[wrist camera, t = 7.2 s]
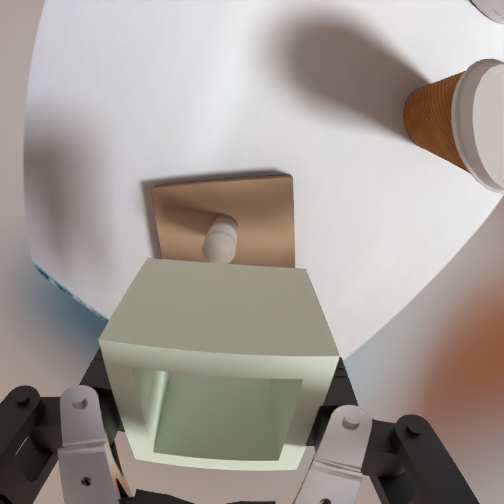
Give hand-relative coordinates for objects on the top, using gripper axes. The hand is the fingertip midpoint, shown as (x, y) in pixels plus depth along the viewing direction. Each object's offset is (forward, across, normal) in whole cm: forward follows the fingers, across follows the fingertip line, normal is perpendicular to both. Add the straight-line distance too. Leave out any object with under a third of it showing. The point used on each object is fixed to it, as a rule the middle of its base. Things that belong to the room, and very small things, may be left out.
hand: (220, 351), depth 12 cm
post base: (+18, 0, +4) cm, 19 cm away
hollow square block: (+1, 0, +4) cm, 4 cm away
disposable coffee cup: (+18, -18, -12) cm, 28 cm away
